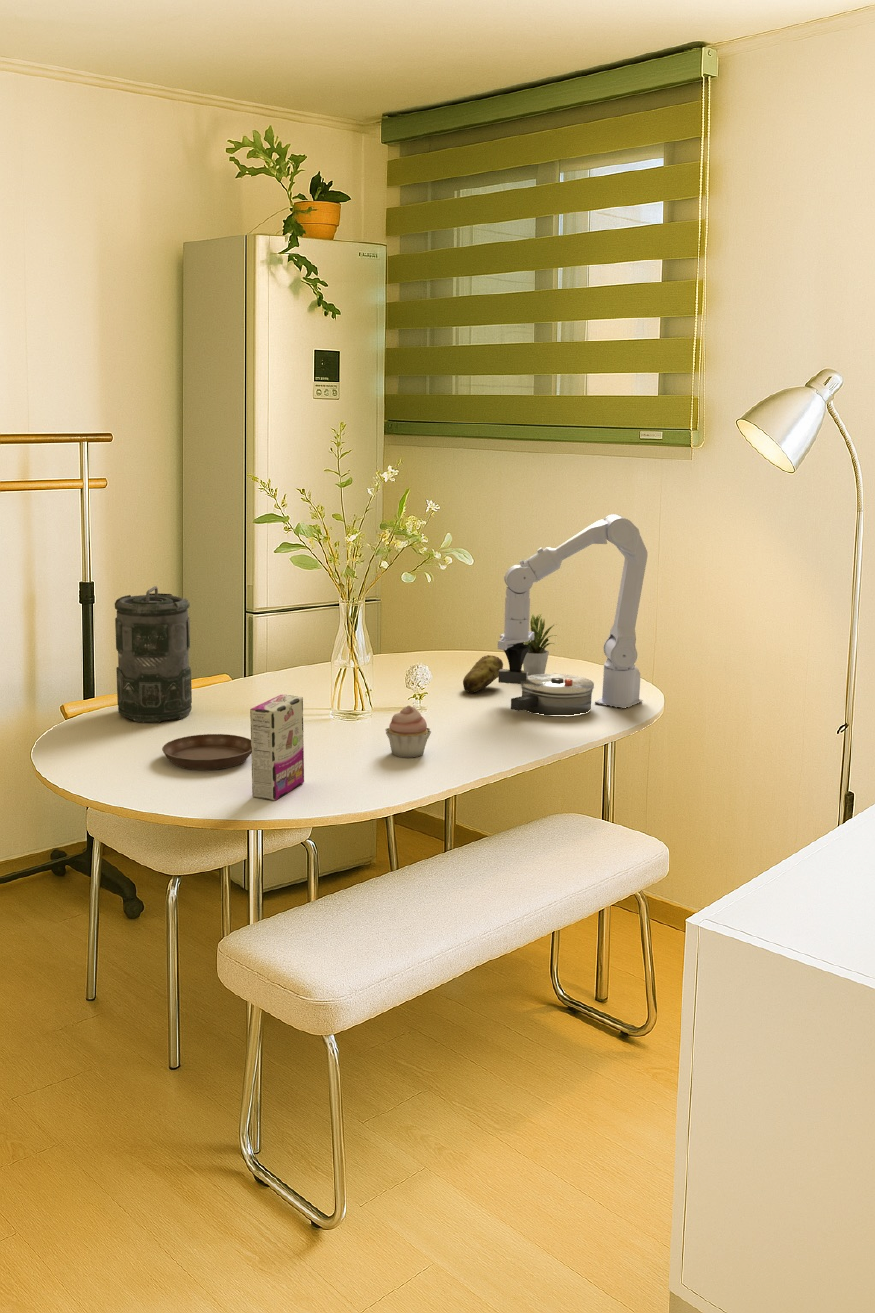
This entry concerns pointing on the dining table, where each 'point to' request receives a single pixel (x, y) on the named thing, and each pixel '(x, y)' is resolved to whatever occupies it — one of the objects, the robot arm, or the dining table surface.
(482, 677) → the potato
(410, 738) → the cupcake
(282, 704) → the candy bar box
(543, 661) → the house plant
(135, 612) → the canister
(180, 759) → the plant saucer
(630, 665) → the robot arm
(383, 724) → the dining table surface
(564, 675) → the lid
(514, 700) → the pot
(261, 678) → the dining table surface
